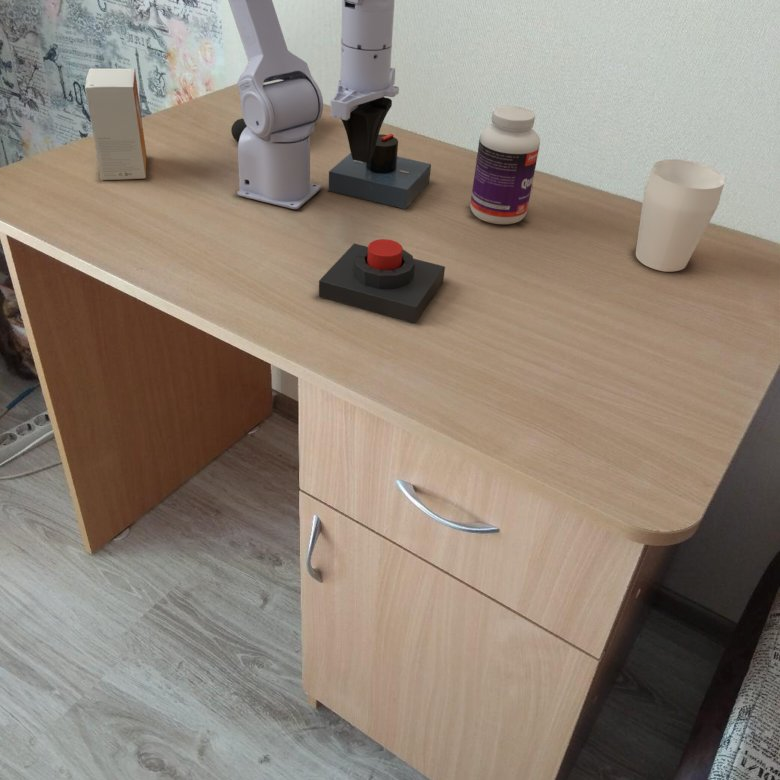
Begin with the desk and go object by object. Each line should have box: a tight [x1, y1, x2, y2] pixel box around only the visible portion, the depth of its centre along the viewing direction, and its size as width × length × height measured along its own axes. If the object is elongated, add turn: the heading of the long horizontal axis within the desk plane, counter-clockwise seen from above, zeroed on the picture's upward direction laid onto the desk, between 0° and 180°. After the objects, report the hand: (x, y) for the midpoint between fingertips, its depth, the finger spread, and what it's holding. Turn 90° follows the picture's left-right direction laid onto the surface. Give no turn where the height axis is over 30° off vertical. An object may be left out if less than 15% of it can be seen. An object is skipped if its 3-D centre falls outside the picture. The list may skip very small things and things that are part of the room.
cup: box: [635, 158, 726, 273], centre depth 99 cm, size 9×9×12 cm
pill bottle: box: [469, 105, 541, 225], centre depth 105 cm, size 8×8×14 cm
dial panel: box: [328, 152, 432, 210], centre depth 113 cm, size 12×10×3 cm
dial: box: [366, 133, 399, 173], centre depth 111 cm, size 4×4×4 cm
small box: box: [84, 67, 147, 181], centre depth 109 cm, size 8×6×13 cm
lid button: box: [367, 238, 404, 270], centre depth 90 cm, size 4×4×2 cm
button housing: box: [318, 242, 446, 324], centre depth 91 cm, size 12×10×4 cm
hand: (361, 159), depth 96 cm, fingers closed
